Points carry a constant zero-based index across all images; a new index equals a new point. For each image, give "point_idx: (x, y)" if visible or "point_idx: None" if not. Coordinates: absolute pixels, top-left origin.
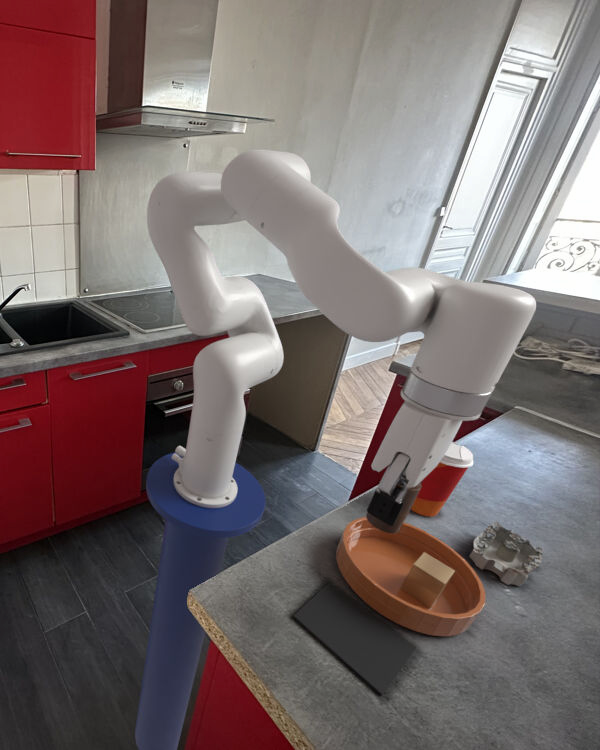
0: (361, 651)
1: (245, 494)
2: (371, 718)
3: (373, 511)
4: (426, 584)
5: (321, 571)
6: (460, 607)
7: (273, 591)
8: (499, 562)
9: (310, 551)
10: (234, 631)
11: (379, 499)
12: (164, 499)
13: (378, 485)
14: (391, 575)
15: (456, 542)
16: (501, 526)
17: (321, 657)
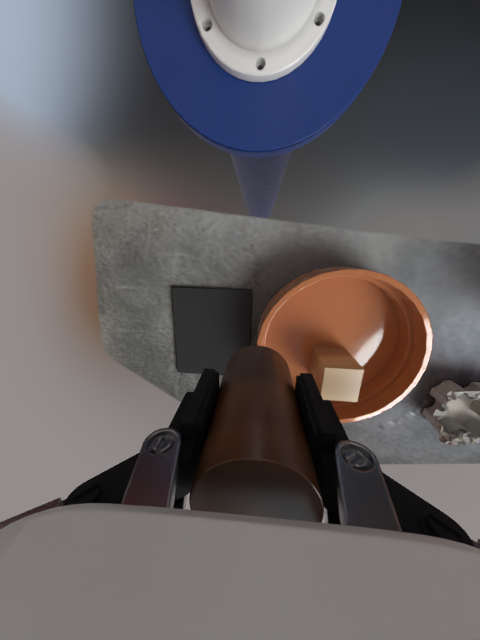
0: (198, 347)
1: (314, 80)
2: (155, 371)
3: (187, 392)
4: (317, 376)
5: (261, 274)
6: None
7: (181, 253)
8: (459, 404)
9: (282, 247)
10: (102, 257)
11: (171, 426)
12: None
13: (138, 457)
14: (325, 333)
15: (467, 363)
16: None
17: (162, 325)
